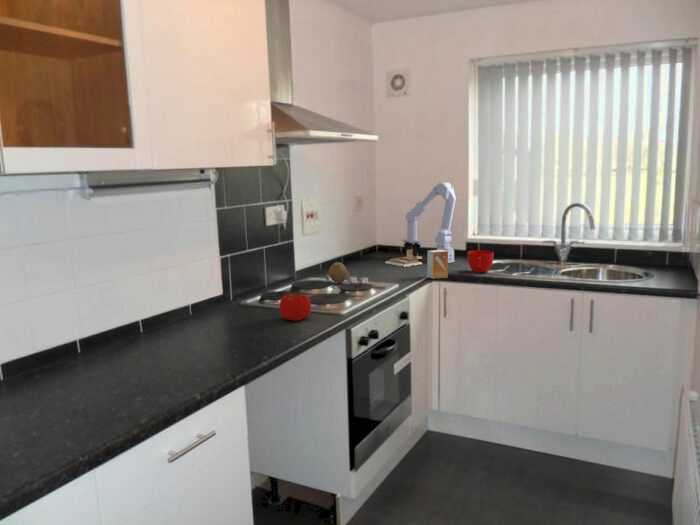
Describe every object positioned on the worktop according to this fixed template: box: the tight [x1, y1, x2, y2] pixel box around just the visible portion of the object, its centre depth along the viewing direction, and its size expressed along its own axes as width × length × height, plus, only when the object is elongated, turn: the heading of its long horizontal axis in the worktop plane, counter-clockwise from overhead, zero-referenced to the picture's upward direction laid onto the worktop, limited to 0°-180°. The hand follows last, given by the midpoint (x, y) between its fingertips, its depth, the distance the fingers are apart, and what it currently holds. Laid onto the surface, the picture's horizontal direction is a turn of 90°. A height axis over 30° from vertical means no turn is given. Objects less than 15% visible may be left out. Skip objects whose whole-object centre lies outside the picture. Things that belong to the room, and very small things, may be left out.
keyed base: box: [384, 256, 423, 268], centre depth 319 cm, size 16×13×2 cm
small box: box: [426, 249, 449, 280], centre depth 278 cm, size 8×6×13 cm
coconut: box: [328, 261, 350, 284], centre depth 268 cm, size 9×9×10 cm
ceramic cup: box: [467, 249, 495, 274], centre depth 289 cm, size 13×17×10 cm
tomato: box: [278, 293, 312, 322], centre depth 206 cm, size 11×12×9 cm
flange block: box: [402, 248, 423, 260], centre depth 333 cm, size 10×6×5 cm, turn 127°
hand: (412, 255), depth 333 cm, fingers closed on flange block, 4 cm apart
